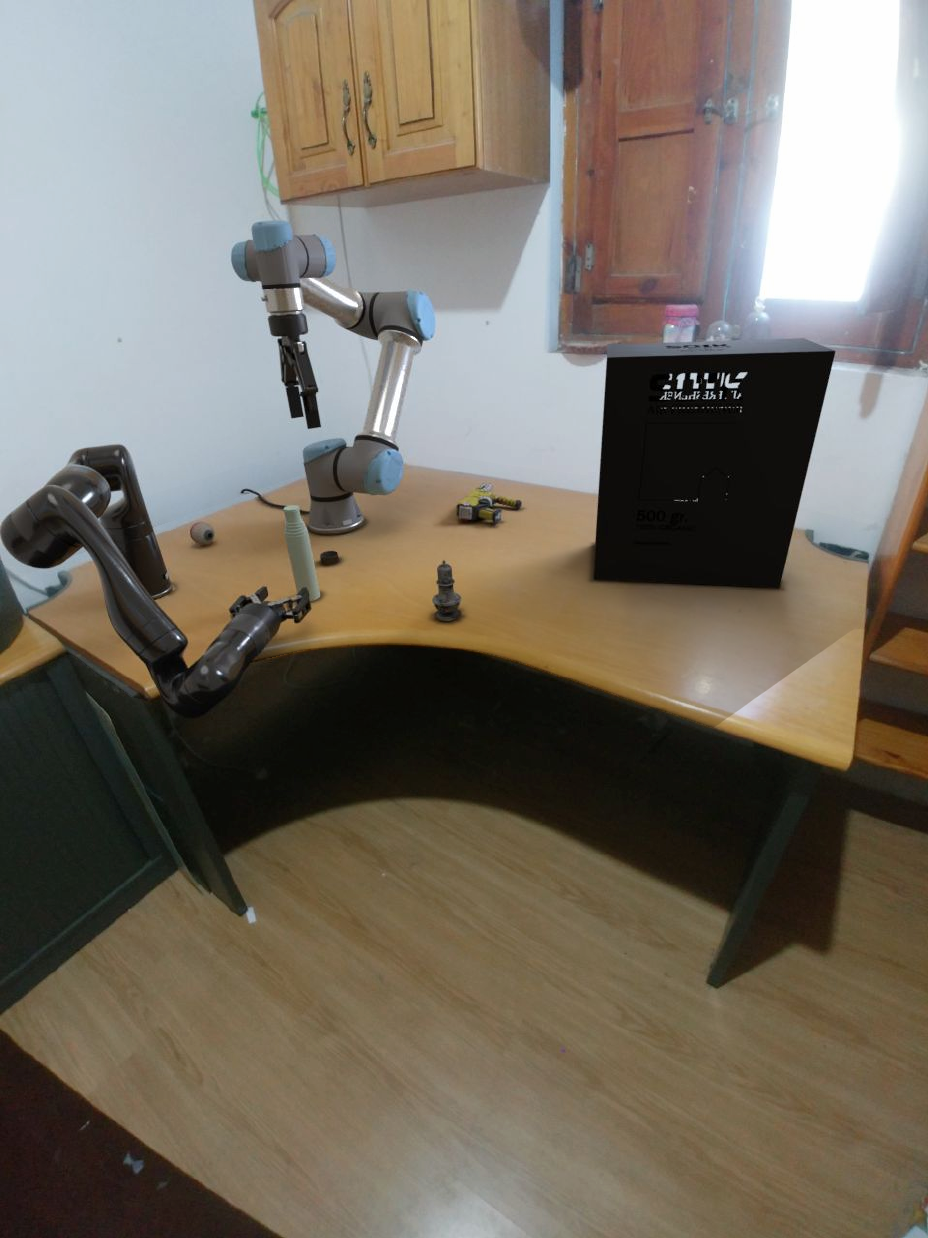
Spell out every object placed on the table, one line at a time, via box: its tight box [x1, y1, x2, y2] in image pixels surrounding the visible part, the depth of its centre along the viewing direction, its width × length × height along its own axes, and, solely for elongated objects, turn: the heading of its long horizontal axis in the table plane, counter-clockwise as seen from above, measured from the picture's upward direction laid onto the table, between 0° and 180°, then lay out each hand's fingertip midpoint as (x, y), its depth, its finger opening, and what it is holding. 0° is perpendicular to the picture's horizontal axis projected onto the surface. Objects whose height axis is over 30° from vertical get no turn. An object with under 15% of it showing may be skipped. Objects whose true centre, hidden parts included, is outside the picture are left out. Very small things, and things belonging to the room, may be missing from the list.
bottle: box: [282, 504, 321, 602], centre depth 127 cm, size 5×5×20 cm
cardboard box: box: [592, 337, 836, 589], centre depth 125 cm, size 38×20×45 cm, turn 78°
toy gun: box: [455, 482, 523, 525], centre depth 172 cm, size 5×24×15 cm
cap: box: [319, 550, 340, 566], centre depth 147 cm, size 4×4×2 cm
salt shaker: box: [431, 560, 462, 622], centre depth 119 cm, size 6×6×12 cm
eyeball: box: [189, 521, 215, 546], centre depth 160 cm, size 6×6×6 cm
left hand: (285, 590), depth 121 cm, fingers open, 8 cm apart
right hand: (305, 422), depth 131 cm, fingers open, 13 cm apart
